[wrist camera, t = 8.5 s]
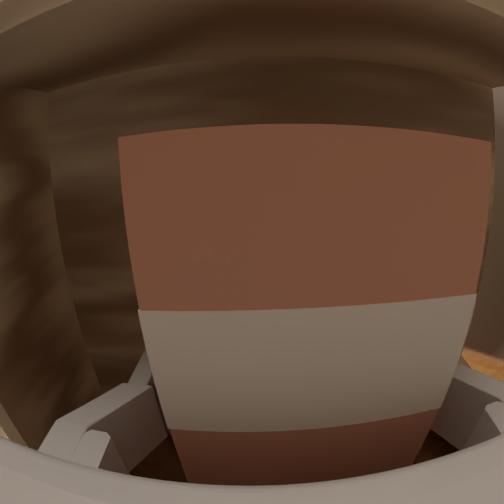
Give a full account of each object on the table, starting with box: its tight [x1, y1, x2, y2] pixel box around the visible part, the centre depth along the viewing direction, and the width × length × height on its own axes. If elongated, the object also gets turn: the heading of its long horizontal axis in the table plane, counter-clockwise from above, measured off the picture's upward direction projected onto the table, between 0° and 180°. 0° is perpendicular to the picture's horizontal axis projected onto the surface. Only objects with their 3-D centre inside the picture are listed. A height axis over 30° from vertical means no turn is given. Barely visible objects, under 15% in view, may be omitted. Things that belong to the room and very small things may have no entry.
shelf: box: [0, 0, 504, 451], centre depth 11 cm, size 9×23×20 cm, turn 89°
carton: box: [118, 124, 492, 486], centre depth 8 cm, size 5×5×14 cm
